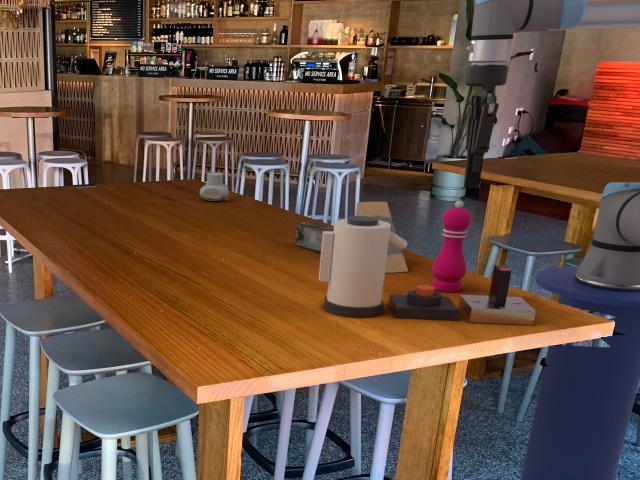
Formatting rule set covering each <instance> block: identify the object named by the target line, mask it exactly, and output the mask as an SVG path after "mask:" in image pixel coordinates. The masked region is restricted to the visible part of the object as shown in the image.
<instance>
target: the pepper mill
mask: <svg viewBox="0 0 640 480" xmlns="http://www.w3.org/2000/svg"><path fill="white" fill-rule="evenodd" d="M441 219H442V225H443V226H444V228H442V229H443V230H442V231H443V232H442V234H441V235H442V237H443V243H442V247H441V249H440V251H439V253H438V255H437V257H436V258H435V260H434V262H433V264H432V268H431V273H432V275H433V276H434V279H432V282H431V286H433V287H435V291H436V292H443V293H457V292H460V291H461V289H462V284H463V283H462V281H461V280H462V279H463V278H464V277H465V276H466V273H467V263H466V259H465V255H464V248H463V247H464V240H465V238H466V237H467V233H468V230H467V229H468V228H469V226H471V224H472V221H473V220H472V214H471V212H470V211H469V210H468V209H466V208H464V202H463V200H456V202H455V203H454V207H451V208H449V209H447V210H446V211H445V212H444V213H443V215H442V218H441Z"/></svg>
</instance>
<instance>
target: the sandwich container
mask: <svg viewBox="0 0 640 480" xmlns="http://www.w3.org/2000/svg"><path fill="white" fill-rule="evenodd" d="M355 210H356V211H355V216H369V217H375V218H377V219H378V220H379V221H384V222H387V223H389V224H391V228H390V231H391V232H393V233H394V234H396V235H398V234H397V231H396V229H395V225H394V222H393V218H392V215H391V211H390V208H389V203H388V201H358V202H357V203H356V209H355ZM392 273H393V274H394V273H409V269H408V267H407V263H406V260H405V256H404V254H403V251H402V249H399V248H397V247H396V246H394V245H392V244H391V243H389V244H388V252H387V260H386V268H385V274H392Z"/></svg>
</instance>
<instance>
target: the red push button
mask: <svg viewBox="0 0 640 480" xmlns="http://www.w3.org/2000/svg"><path fill="white" fill-rule="evenodd" d="M415 290H416V293H415V294H416V295H420V296H434V291H436V290H435V287H433V286H432V285H429V284H417V285H416V287H415Z"/></svg>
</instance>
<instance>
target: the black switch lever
mask: <svg viewBox="0 0 640 480" xmlns="http://www.w3.org/2000/svg"><path fill="white" fill-rule="evenodd" d="M493 266H494V267H493V272H492V277H491V282H490V288H489V295H488V296H489V299H490V300H491V302H492V303H493V304H494V305H502V306H505V304H506V299H507V297H508V292H509V288H510V281H511V277H512V270H511V269H510V268H508V267H507V266H506V265H501V264H500V265H497V264H494V265H493Z"/></svg>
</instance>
